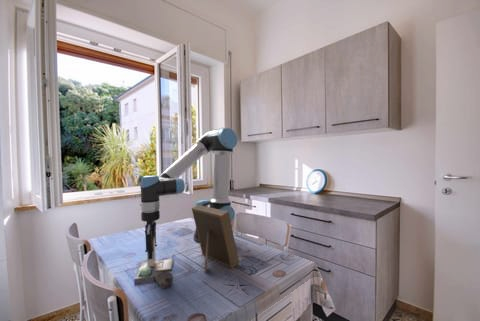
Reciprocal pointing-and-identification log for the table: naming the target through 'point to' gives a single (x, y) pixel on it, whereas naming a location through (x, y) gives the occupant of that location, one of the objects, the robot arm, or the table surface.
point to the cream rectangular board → (159, 265)
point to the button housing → (144, 277)
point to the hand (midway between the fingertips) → (151, 263)
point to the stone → (164, 279)
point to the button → (145, 272)
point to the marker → (154, 252)
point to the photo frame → (215, 235)
